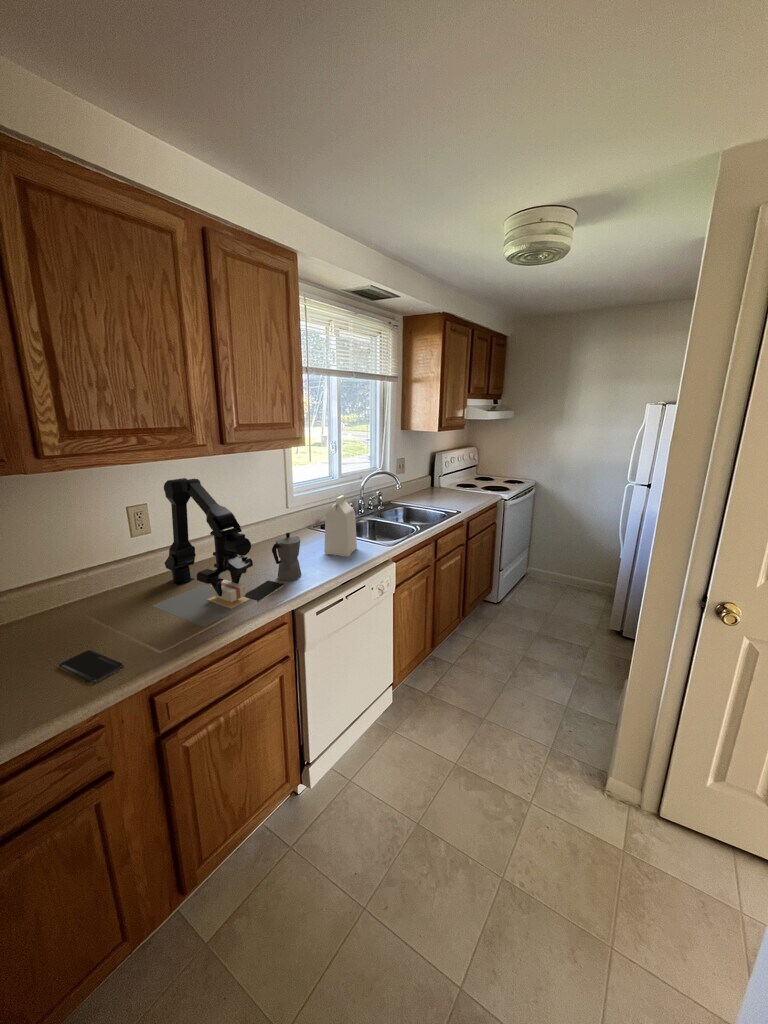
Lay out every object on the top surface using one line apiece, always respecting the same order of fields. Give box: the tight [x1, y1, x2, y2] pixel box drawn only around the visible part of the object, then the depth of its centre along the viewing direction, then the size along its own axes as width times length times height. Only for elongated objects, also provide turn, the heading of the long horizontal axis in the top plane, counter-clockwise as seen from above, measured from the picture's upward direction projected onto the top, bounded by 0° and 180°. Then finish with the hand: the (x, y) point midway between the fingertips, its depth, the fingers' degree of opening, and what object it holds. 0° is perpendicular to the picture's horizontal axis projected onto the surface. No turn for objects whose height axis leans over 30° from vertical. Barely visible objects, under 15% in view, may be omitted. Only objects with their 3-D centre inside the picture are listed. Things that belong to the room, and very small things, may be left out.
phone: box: [58, 649, 124, 684], centre depth 104 cm, size 8×1×15 cm
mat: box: [151, 583, 255, 628], centre depth 138 cm, size 26×20×1 cm
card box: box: [209, 579, 246, 602], centre depth 140 cm, size 10×6×4 cm, turn 60°
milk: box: [323, 495, 358, 557], centre depth 189 cm, size 12×12×26 cm
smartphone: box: [243, 580, 285, 603], centre depth 149 cm, size 8×1×15 cm
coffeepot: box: [271, 532, 302, 581], centre depth 159 cm, size 15×9×18 cm, turn 153°
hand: (227, 592), depth 140 cm, fingers closed on card box, 6 cm apart
